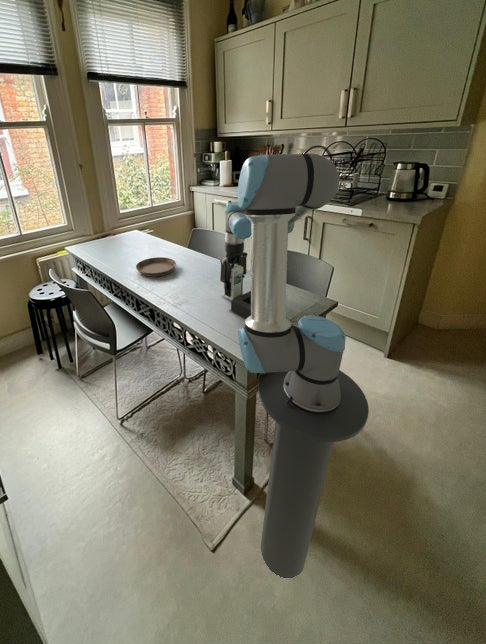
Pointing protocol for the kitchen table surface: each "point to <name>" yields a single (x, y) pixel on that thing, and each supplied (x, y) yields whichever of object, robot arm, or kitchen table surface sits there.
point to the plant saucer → (156, 266)
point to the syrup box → (236, 282)
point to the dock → (242, 305)
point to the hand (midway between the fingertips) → (233, 292)
